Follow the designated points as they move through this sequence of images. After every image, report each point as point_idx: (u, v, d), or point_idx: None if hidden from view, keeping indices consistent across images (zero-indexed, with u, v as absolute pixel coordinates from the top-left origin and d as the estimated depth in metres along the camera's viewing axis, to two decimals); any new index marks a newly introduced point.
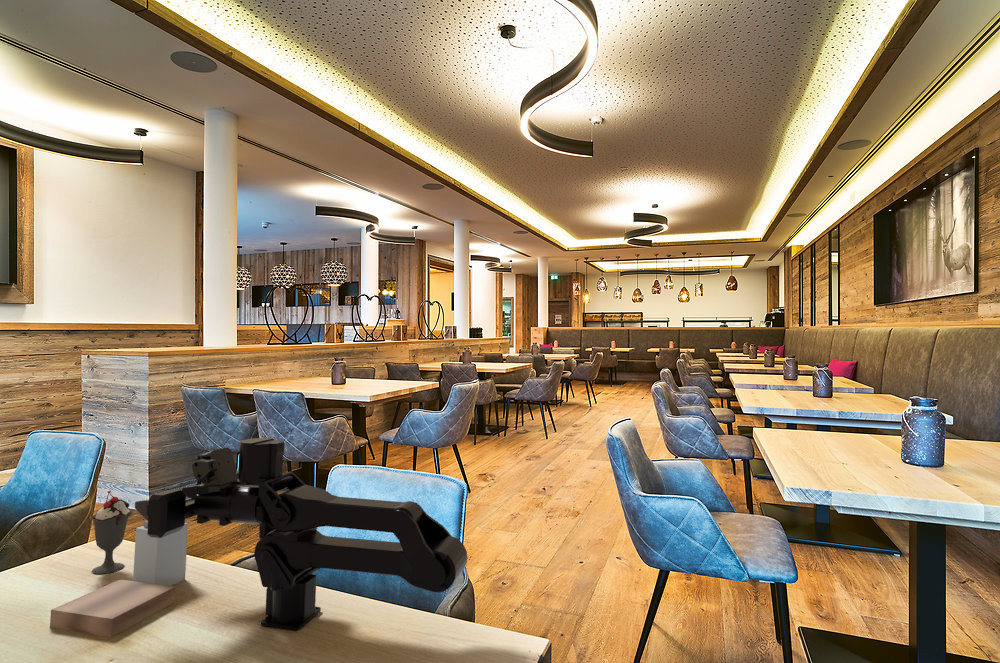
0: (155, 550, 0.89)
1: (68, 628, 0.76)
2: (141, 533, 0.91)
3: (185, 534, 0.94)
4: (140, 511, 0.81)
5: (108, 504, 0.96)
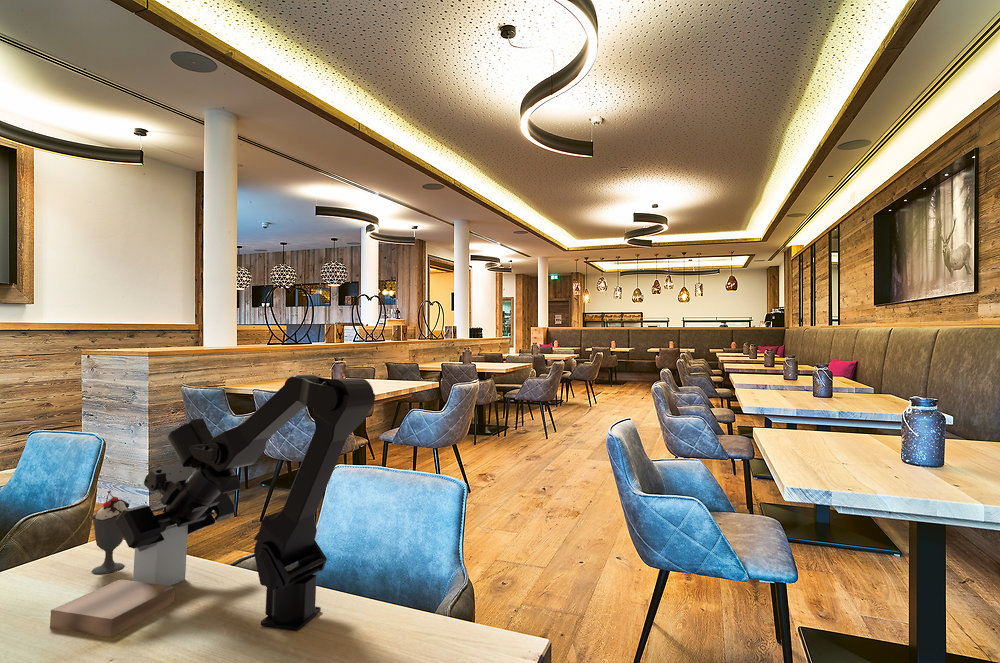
0: (155, 550, 0.89)
1: (68, 628, 0.76)
2: None
3: (185, 534, 0.94)
4: (141, 548, 0.89)
5: (108, 504, 0.96)
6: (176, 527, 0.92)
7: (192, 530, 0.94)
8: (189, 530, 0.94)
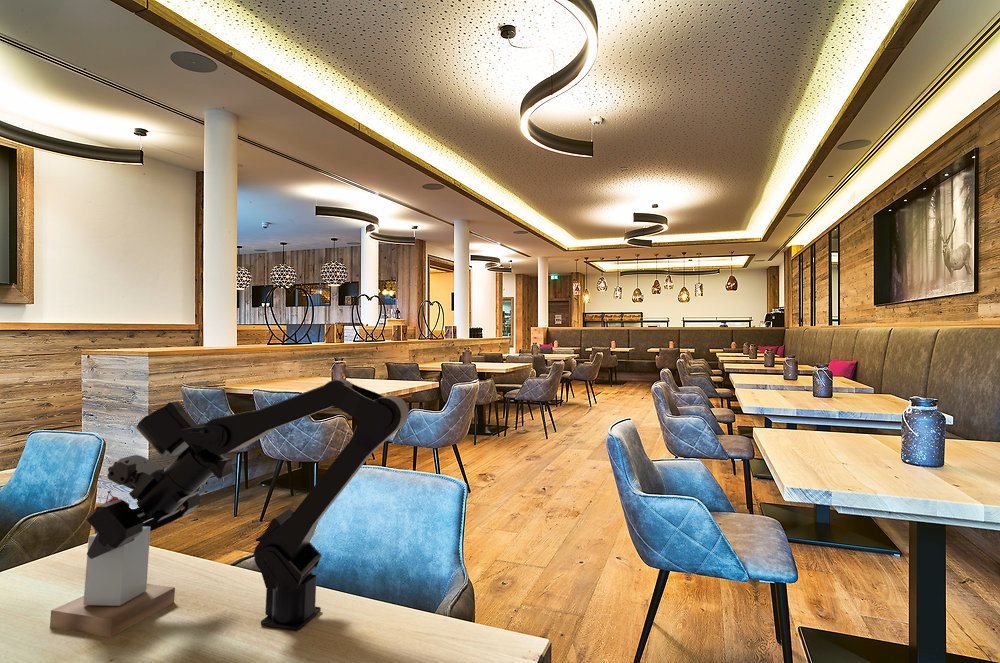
0: (121, 557, 0.79)
1: (68, 629, 0.76)
2: None
3: (148, 539, 0.84)
4: (97, 553, 0.77)
5: None
6: None
7: (160, 525, 0.86)
8: (155, 525, 0.86)
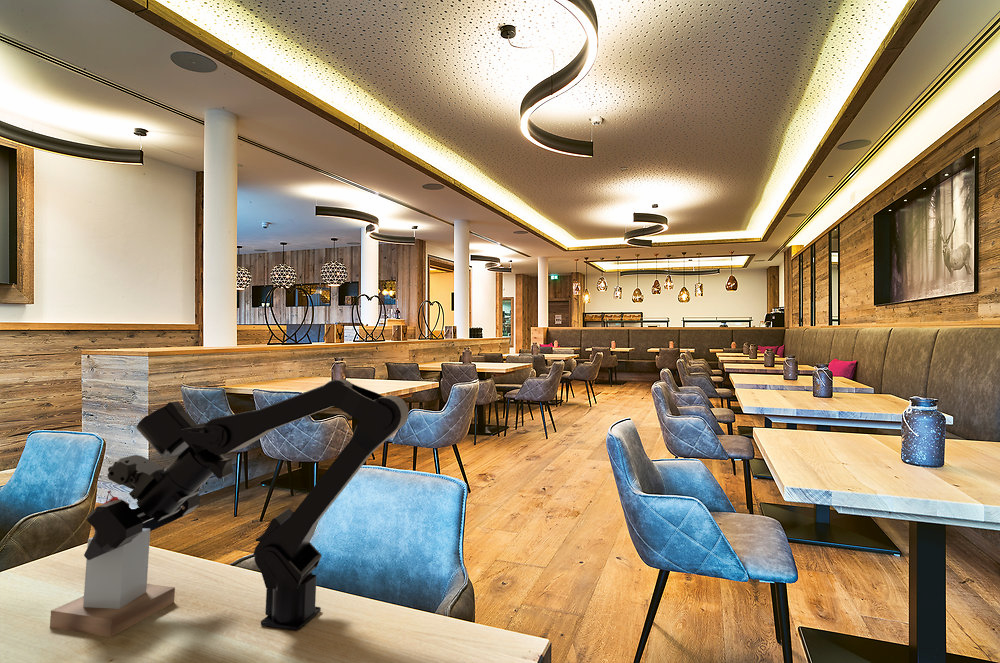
0: (120, 561, 0.78)
1: (68, 629, 0.76)
2: None
3: (147, 541, 0.83)
4: (94, 555, 0.76)
5: None
6: (140, 534, 0.82)
7: (162, 524, 0.86)
8: (157, 524, 0.86)
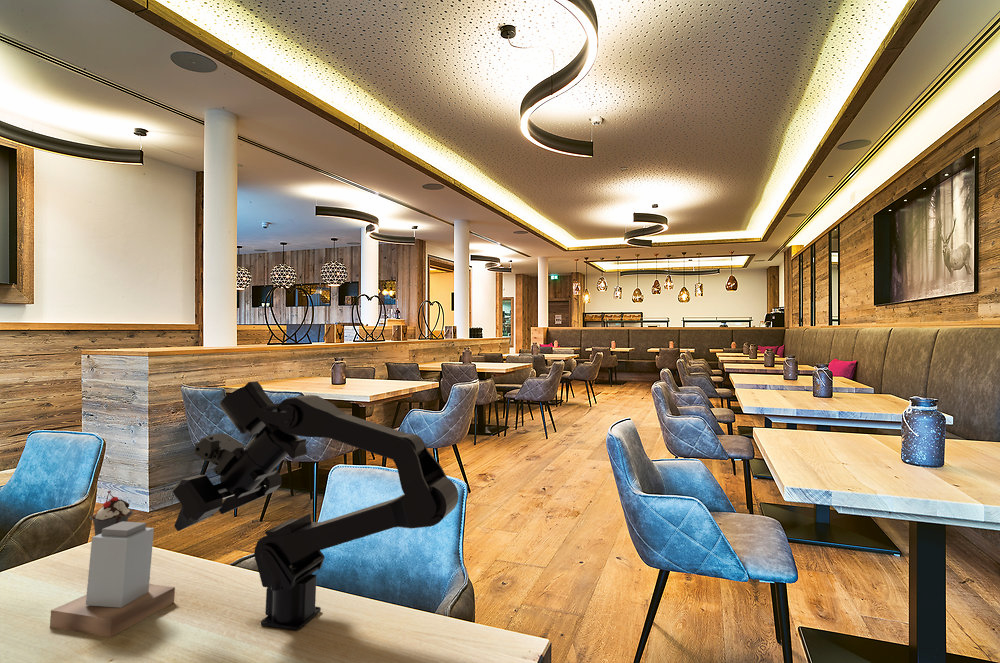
0: (123, 560, 0.78)
1: (68, 629, 0.76)
2: (100, 543, 0.79)
3: (151, 540, 0.83)
4: (182, 526, 0.79)
5: (108, 504, 0.96)
6: (143, 533, 0.82)
7: (246, 501, 0.89)
8: (243, 501, 0.89)
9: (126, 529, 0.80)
